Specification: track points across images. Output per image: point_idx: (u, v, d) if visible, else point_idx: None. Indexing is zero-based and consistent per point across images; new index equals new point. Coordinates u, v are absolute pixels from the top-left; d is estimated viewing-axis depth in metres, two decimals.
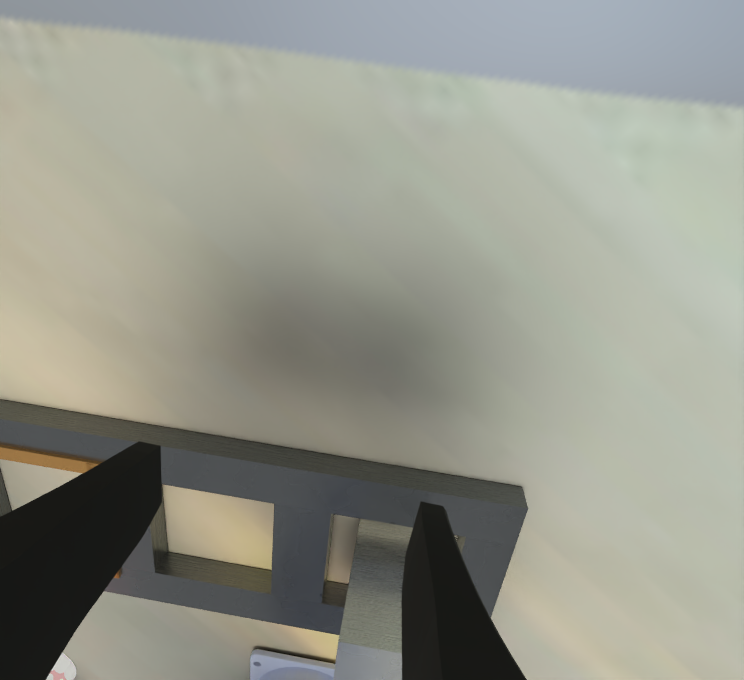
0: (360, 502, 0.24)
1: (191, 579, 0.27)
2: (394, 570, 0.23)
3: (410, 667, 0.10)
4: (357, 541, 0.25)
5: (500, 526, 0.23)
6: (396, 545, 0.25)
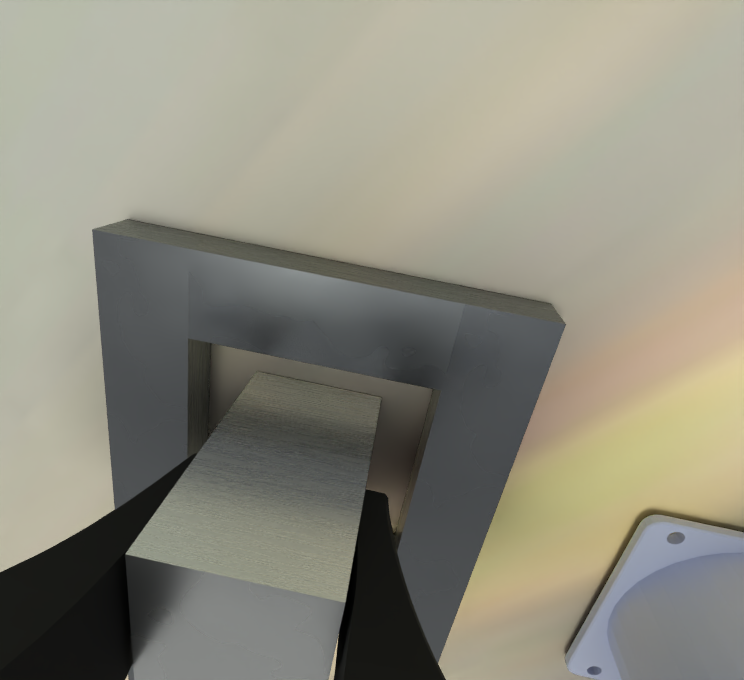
0: None
1: None
2: None
3: (340, 651, 0.10)
4: None
5: (148, 278, 0.12)
6: None
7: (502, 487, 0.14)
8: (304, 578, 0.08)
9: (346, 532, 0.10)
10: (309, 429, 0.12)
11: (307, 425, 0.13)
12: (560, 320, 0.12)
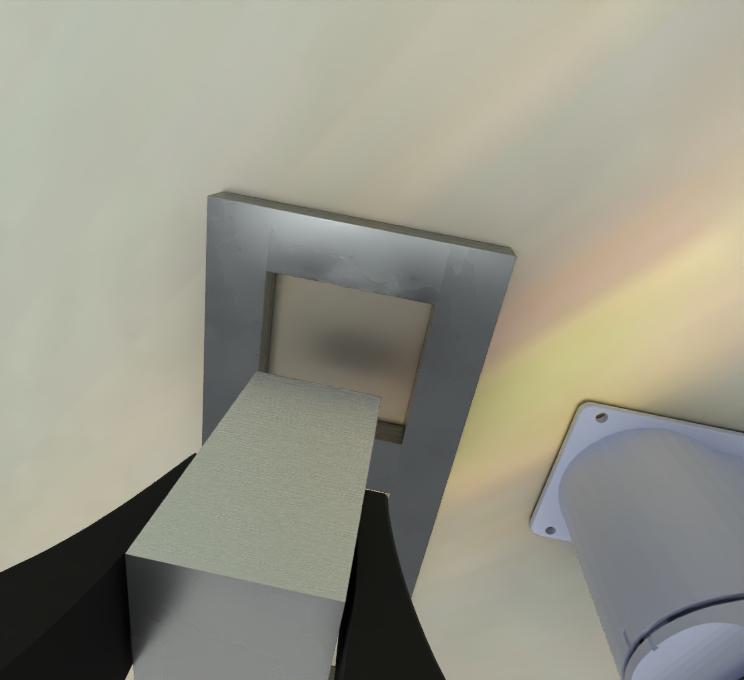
0: (234, 383, 0.21)
1: None
2: None
3: (339, 651, 0.10)
4: None
5: (242, 228, 0.18)
6: None
7: (478, 376, 0.20)
8: (304, 577, 0.08)
9: (346, 532, 0.10)
10: (309, 429, 0.12)
11: (307, 425, 0.13)
12: (513, 254, 0.18)
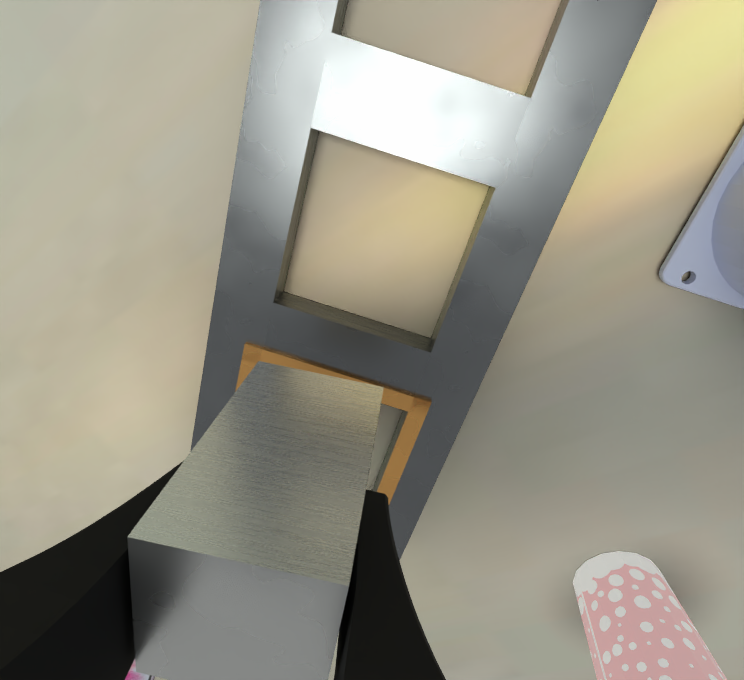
0: None
1: (449, 306, 0.19)
2: None
3: (339, 651, 0.10)
4: None
5: None
6: None
7: None
8: (308, 562, 0.08)
9: (349, 518, 0.09)
10: (311, 417, 0.12)
11: (309, 414, 0.12)
12: None
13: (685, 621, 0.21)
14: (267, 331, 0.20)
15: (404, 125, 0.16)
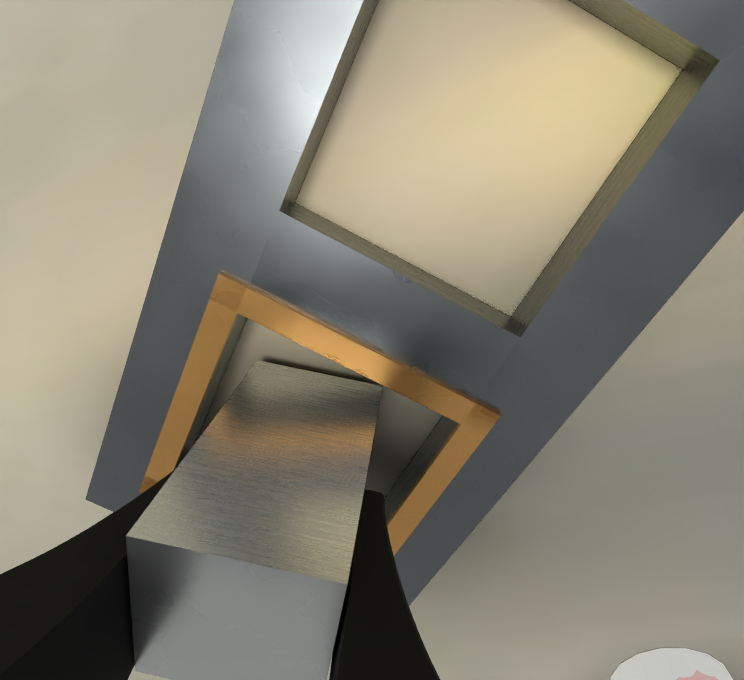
0: None
1: (573, 265, 0.11)
2: None
3: (335, 650, 0.10)
4: None
5: None
6: None
7: None
8: (306, 559, 0.08)
9: (347, 516, 0.10)
10: (310, 416, 0.12)
11: (308, 413, 0.13)
12: None
13: None
14: (260, 258, 0.12)
15: None
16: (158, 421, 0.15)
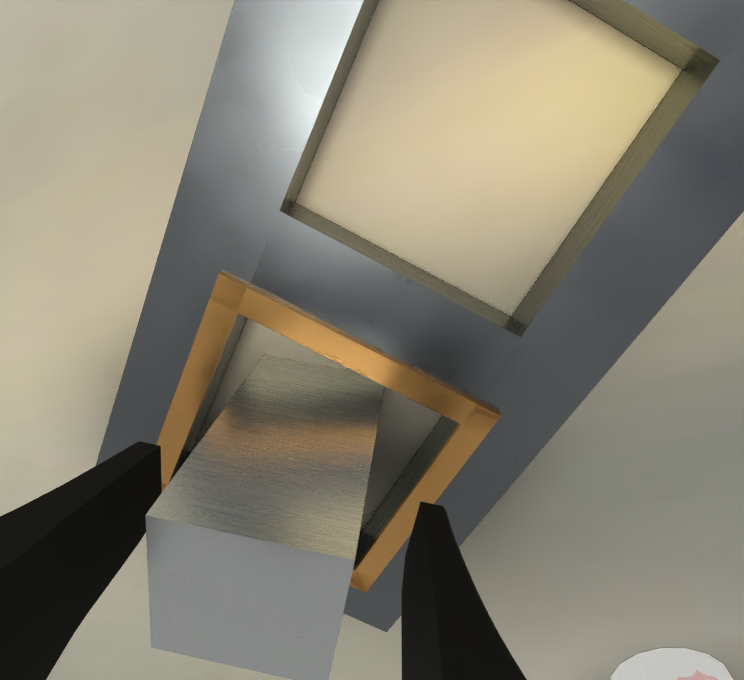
0: None
1: (573, 265, 0.11)
2: None
3: (410, 667, 0.10)
4: None
5: None
6: None
7: None
8: (315, 538, 0.09)
9: (354, 499, 0.10)
10: (316, 406, 0.13)
11: (314, 403, 0.13)
12: None
13: None
14: (260, 258, 0.12)
15: None
16: (158, 421, 0.15)
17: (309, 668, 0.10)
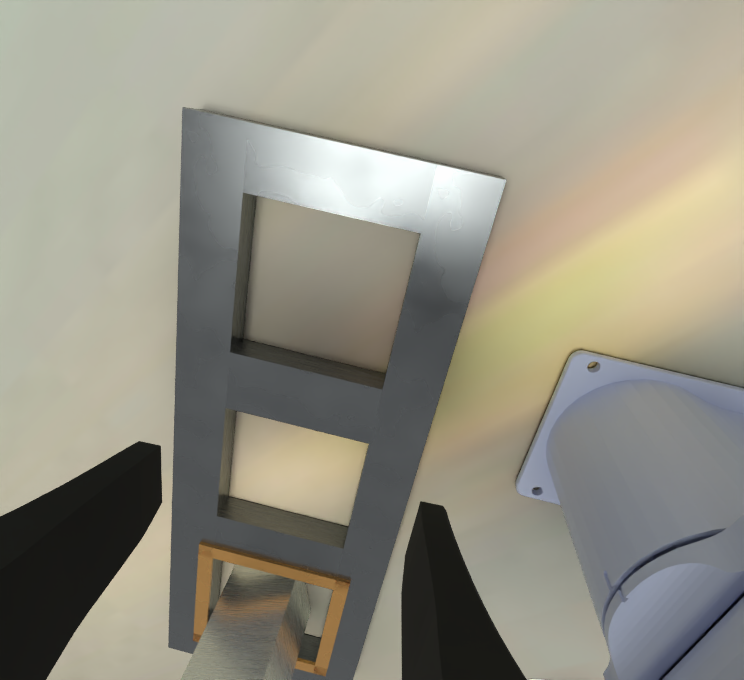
0: (208, 317, 0.20)
1: (351, 518, 0.24)
2: None
3: (410, 667, 0.10)
4: None
5: (218, 144, 0.17)
6: None
7: (463, 314, 0.19)
8: None
9: (266, 655, 0.23)
10: (259, 595, 0.26)
11: (258, 593, 0.26)
12: (503, 179, 0.17)
13: None
14: (215, 533, 0.26)
15: (293, 406, 0.21)
16: (192, 606, 0.28)
17: None
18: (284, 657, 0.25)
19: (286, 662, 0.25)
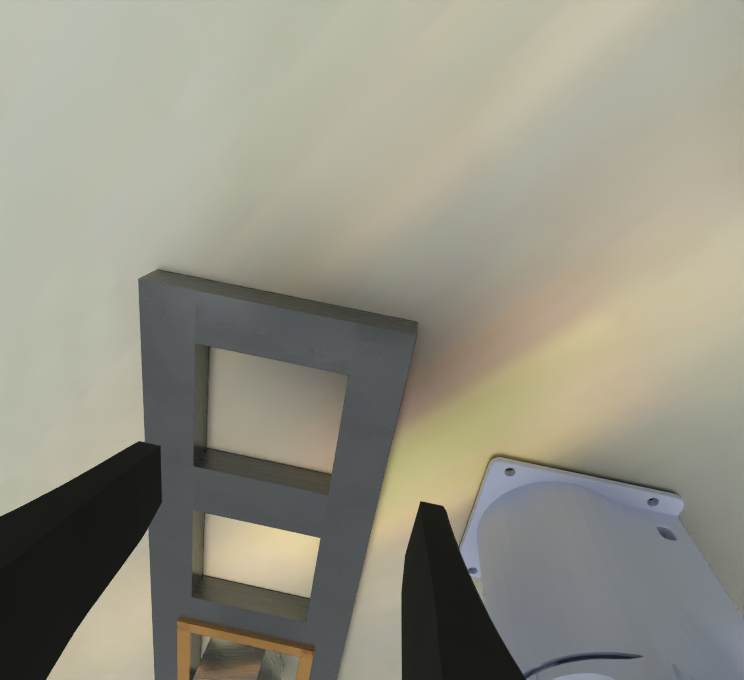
0: (172, 439, 0.23)
1: (310, 598, 0.27)
2: None
3: (410, 667, 0.10)
4: None
5: (171, 307, 0.20)
6: None
7: (391, 436, 0.22)
8: None
9: None
10: (233, 664, 0.29)
11: (233, 662, 0.29)
12: (415, 333, 0.20)
13: None
14: (191, 611, 0.28)
15: (252, 508, 0.24)
16: (175, 671, 0.31)
17: None
18: None
19: None
